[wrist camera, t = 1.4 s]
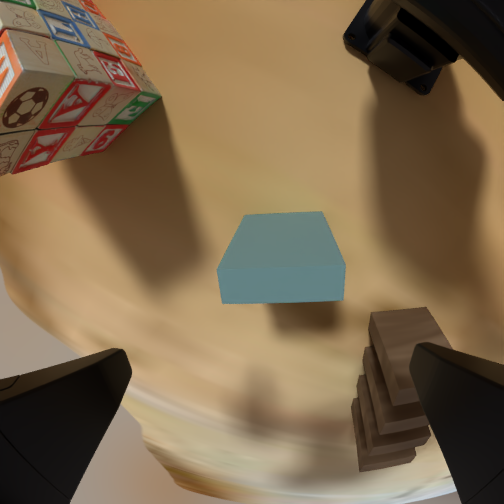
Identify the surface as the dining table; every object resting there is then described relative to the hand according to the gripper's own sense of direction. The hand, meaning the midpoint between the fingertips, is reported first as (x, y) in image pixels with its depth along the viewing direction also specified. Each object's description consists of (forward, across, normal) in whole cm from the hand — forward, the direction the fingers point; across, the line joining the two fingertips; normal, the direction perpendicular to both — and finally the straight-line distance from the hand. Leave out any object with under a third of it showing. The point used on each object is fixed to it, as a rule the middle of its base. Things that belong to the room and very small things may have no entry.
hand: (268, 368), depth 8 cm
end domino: (+12, +1, +1) cm, 12 cm away
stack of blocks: (+12, -14, +18) cm, 26 cm away
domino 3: (+13, +10, -14) cm, 21 cm away
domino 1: (+12, +10, -7) cm, 17 cm away
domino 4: (+13, +10, -17) cm, 24 cm away
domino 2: (+12, +10, -10) cm, 19 cm away
